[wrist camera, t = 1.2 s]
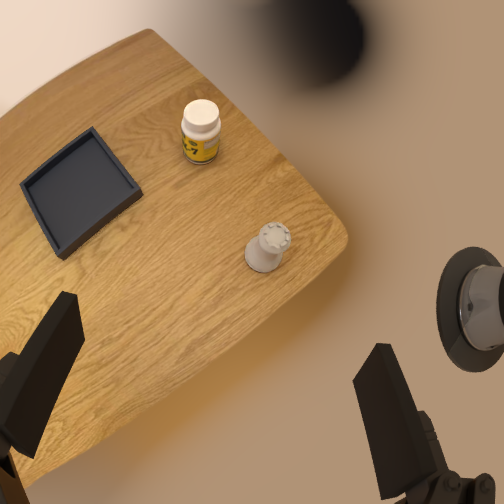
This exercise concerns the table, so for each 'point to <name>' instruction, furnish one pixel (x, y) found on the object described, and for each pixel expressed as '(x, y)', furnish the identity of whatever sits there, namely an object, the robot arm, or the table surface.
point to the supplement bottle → (201, 131)
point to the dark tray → (79, 192)
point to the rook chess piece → (268, 247)
